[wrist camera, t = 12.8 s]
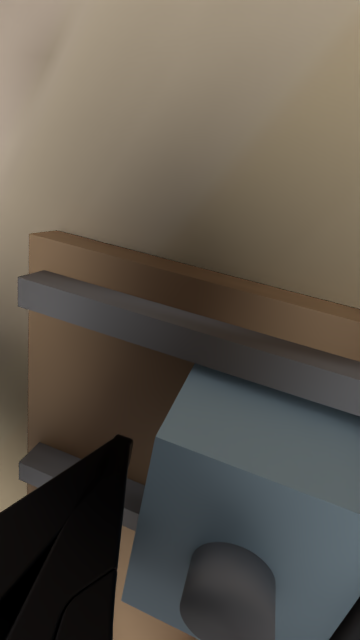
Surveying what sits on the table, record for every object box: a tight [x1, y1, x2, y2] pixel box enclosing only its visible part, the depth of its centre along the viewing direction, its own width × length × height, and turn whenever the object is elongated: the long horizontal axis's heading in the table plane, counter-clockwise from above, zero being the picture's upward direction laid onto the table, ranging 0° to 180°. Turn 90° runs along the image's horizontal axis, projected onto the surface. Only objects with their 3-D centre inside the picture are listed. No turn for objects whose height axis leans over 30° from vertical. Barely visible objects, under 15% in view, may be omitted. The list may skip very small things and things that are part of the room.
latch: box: [121, 363, 360, 640], centre depth 7 cm, size 4×5×4 cm
